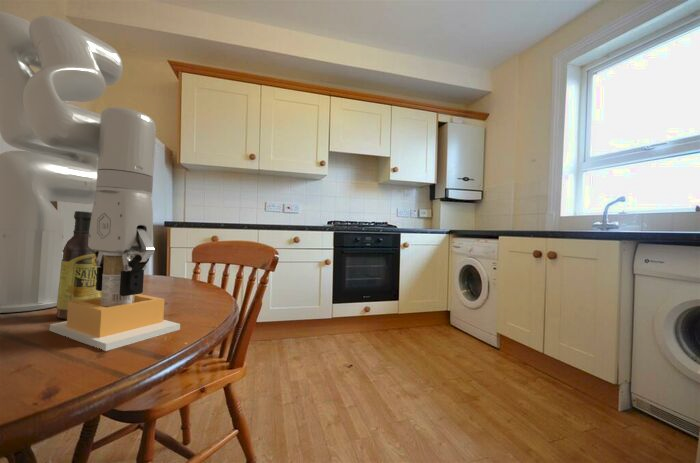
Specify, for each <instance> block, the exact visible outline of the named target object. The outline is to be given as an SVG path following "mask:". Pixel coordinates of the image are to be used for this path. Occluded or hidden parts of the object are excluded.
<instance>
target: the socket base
mask: <svg viewBox="0 0 700 463" xmlns="http://www.w3.org/2000/svg"><path fill="white" fill-rule="evenodd" d="M165 301H166V300H165V298H160V297H157V296H152V295H151V296H150V295H146V294H142V293H141V294H136V295H134V303H130V304H124V305H118V306H112V307H107V308H106V307H102V306H101V297H97V298H90V299H83V300H76V301H69V302H68V314H67V319H66V321H61V322H56V323H52V324H51V323H50V324H49V332H52V333H54V334H58V335H60V336H63V337H65V336H66V338H68V337H69V338H68V339H71V340H74V341H77V342H80V343H83V344H85V345H88V346H90V347H93V346H94V347H93V348H96V347H97V348H96V349H99V348H100V349H99V350H101V349H102V350H101V351H104V352H107V351H111V350H115V349H118V348H121V347H125V346H129V345H132V344H135V343H138V342H142V341H145V340H149V339H153V338H156V337H158V336H159V337H160V336H162V335H166V334H170V333H173V332H176V331H180V330H181V324H180V323H178V322H175V321H171V320H166V319H164V316H165V313H164V312H165Z"/></svg>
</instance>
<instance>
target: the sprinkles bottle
mask: <svg viewBox="0 0 700 463" xmlns="http://www.w3.org/2000/svg"><path fill="white" fill-rule="evenodd" d="M128 251H137V249H129V250H128ZM103 255H104V256H103V258H104V265H103V268H104V269H103V276H102V295H101V306H102V307H106V308H107V307H112V306H118V305H124V304H130V303H134V295H129V296H120V278H121V271H125V270H124V265H123V259H122V253H107V252H103ZM130 258H131V261H132V259H133V258H134V256H130Z"/></svg>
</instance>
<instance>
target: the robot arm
mask: <svg viewBox="0 0 700 463" xmlns="http://www.w3.org/2000/svg"><path fill="white" fill-rule="evenodd" d="M123 65H124V64H123V61H122V57H121V56H120V53H118V51H117V50H116V49H115V48H114V47H113V46H111V45H110V44H108V43H106V42H105V41H103V40H101V39H100V38H97V37H96V36H94V35H93V34H90V33H88V32H86V31H84V29H81V28H79V27H77V26H76V25H74V24H72V23H70V22H69V21H66V20H64V19H62V18H58V17H55V16H50V15H40V16H37V17H35V18H33V19H32V20H31V21H29V20H27V19H25V18H23V17H20V16H18V15H15V14H11V13H9V12H6V11H2V10H0V136H1V138H2V140H3V141H4V142H5V143H6V144H7V145H9V146H11V147H13V148H14V149H18V150H8V151H4V152H1V153H0V314H1V313H3V314H4V313H6V314H7V313H20V312H31V311H38V310H44V309H50V308H51V309H52V308H56V307H57V299H58V289H59V281H60V271H61V261H62V259H63V248H64V247H63V246H64V229H65V228H64V226H65V225H64V224H65V223H64V219H63V216H62V215H61V214H60V212H59V211H58V210H57V208H55V206H54V205H53V203H51V202H63V203H69V204H70V203H71V204H83V205H84V204H85V205H90V204H91V205H92V210H91V212H92V215H91V221H90V229H89V238H88V246H89V248H90V249H91V250H93V251H95V252H96V253H95V255H96V257H97V261H96V266H97V279H96V290H97V291H102V276H103V269H104V268H103V265H104V258H103V256H104V255H103V252H107V253H122V259H123V265H124V270H125V271H121V278H120V296H129V295H136V294H142V293H143V292H144V276H145V271H146V269H147V264H148V262H149V261H150V259H151V257H152V255H153V254H154V253H155V246H154V245H153V234H154V233H153V231H154V230H153V229H154V227H153V226H154V225H153V224H154V222H153V220H154V216H153V202H152V197H153V189H154V188H153V183H154V169H155V154H156V136H157V134H156V133H157V126H156V123H155V121H154V119H152V117H151V116H149V115H147V114H145V113H143V112H140V111H138V110H136V109H132V108H126V107H121V106H120V107H119V106H109V107H107V108H104V109H103V111H102V112H101V113H97V112H95V111H92V110H89V109H86V108H84V107H81V106H78V105H77V106H76V104H72V103H88V102H92V101H95V100H98V99H99V98H101V97H102V96H103V94H104V93H105V91H106V88H107V87H108V86H112V85H116V84H117V83H118V82H119V81H120V79H121V78H122V76H123V72H124V66H123ZM30 66H31V67H33V68H35V69H38V71H36V72H35V71H34V70H33V69H32V68H31V67H30ZM129 249H137V251H128V250H129ZM130 256H134V258H133V259H132V261H131V258H130Z"/></svg>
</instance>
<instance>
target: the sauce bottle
mask: <svg viewBox="0 0 700 463" xmlns="http://www.w3.org/2000/svg"><path fill="white" fill-rule="evenodd" d="M91 215H92V211H79V210H76V211H74V215H73V218H74V220H75V221H74V230H73V234H72V235H73V236H72V237H71V238H70V239H68V241H66V244H65V245H64V247H63V249H62V261H61V271H60V281H59V289H58V299H57V306H56V309H57V311H56V317H57V319H63V320H67V314H68V302H69V301H76V300H83V299H90V298H97V297H101V295H102V291H97V290H96V279H97V266H96V261H97V257H96V255H95V253H96V252H95V251H93V250H91V249H90V248H89V246H88V238H89V229H90V221H91Z"/></svg>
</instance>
